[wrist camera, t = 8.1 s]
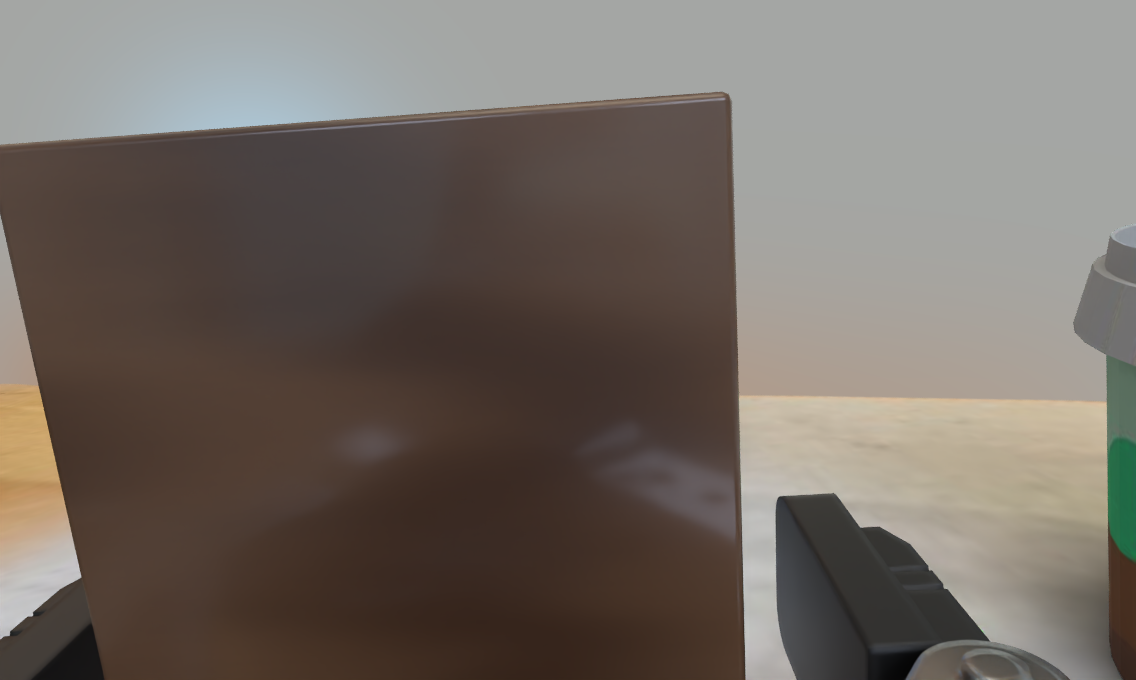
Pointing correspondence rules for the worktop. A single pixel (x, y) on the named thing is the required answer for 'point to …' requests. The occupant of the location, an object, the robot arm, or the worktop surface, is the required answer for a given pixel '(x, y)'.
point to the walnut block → (396, 391)
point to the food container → (1117, 426)
